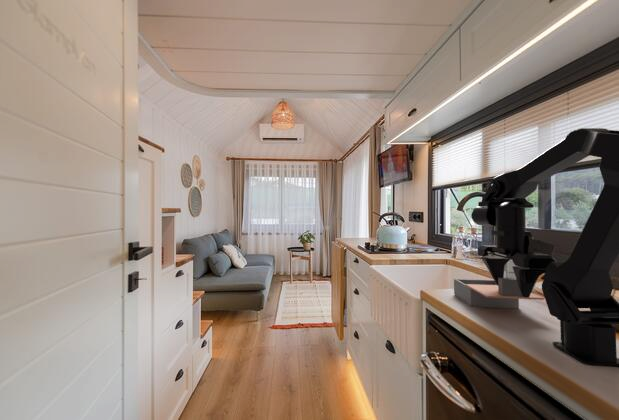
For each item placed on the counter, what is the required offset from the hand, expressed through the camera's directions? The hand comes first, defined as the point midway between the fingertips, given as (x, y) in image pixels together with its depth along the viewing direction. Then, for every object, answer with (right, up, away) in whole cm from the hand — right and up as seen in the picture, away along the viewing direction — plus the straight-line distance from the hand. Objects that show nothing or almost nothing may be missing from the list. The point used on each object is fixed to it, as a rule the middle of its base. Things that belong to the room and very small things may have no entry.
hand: (511, 291), depth 60 cm
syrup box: (+24, -8, +29) cm, 38 cm away
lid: (0, -1, +4) cm, 4 cm away
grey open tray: (+1, -7, +12) cm, 14 cm away
